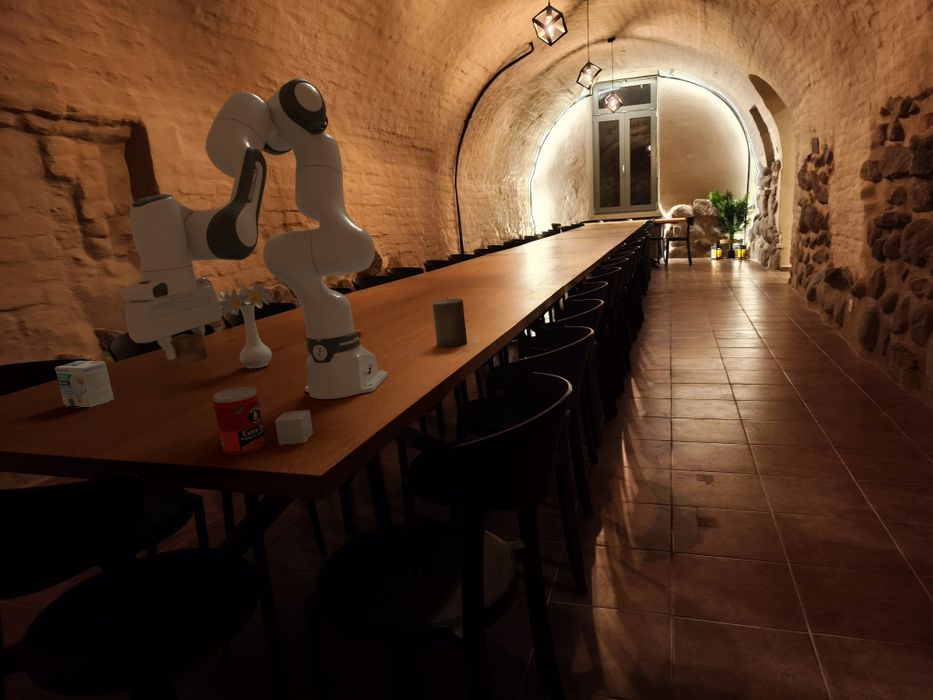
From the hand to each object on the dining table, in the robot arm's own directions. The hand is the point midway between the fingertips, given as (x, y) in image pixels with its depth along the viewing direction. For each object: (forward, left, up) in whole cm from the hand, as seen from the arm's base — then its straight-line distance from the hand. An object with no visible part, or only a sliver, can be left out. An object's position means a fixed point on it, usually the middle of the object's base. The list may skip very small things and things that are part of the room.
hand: (186, 353), depth 113 cm
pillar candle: (-81, +25, -18) cm, 86 cm away
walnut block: (0, 0, -2) cm, 2 cm away
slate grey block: (-2, +21, -18) cm, 27 cm away
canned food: (+3, +13, -18) cm, 22 cm away
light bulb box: (-19, -54, -18) cm, 60 cm away
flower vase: (-54, -29, -18) cm, 64 cm away
